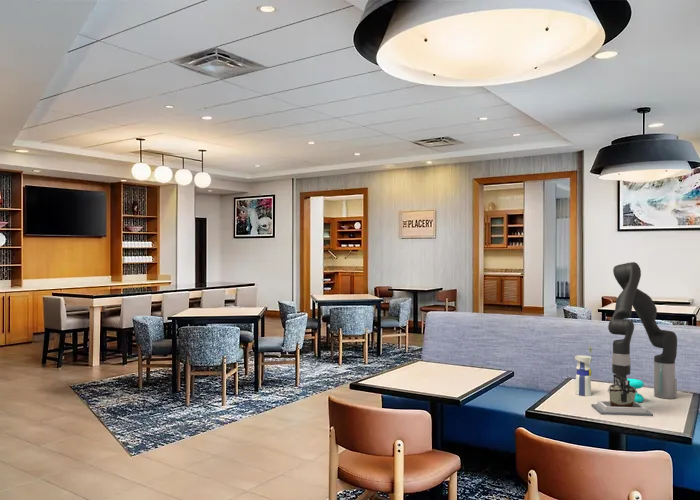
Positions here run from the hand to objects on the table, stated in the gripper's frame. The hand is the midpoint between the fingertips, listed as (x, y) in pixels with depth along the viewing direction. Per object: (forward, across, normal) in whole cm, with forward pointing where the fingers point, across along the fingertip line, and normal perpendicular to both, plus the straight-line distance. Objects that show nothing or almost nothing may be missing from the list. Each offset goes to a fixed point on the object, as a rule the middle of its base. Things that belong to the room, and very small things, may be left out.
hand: (621, 399), depth 259 cm
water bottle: (+5, -30, -8) cm, 31 cm away
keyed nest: (+5, 0, 0) cm, 5 cm away
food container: (+4, -2, 0) cm, 4 cm away
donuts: (+5, -20, +12) cm, 24 cm away
